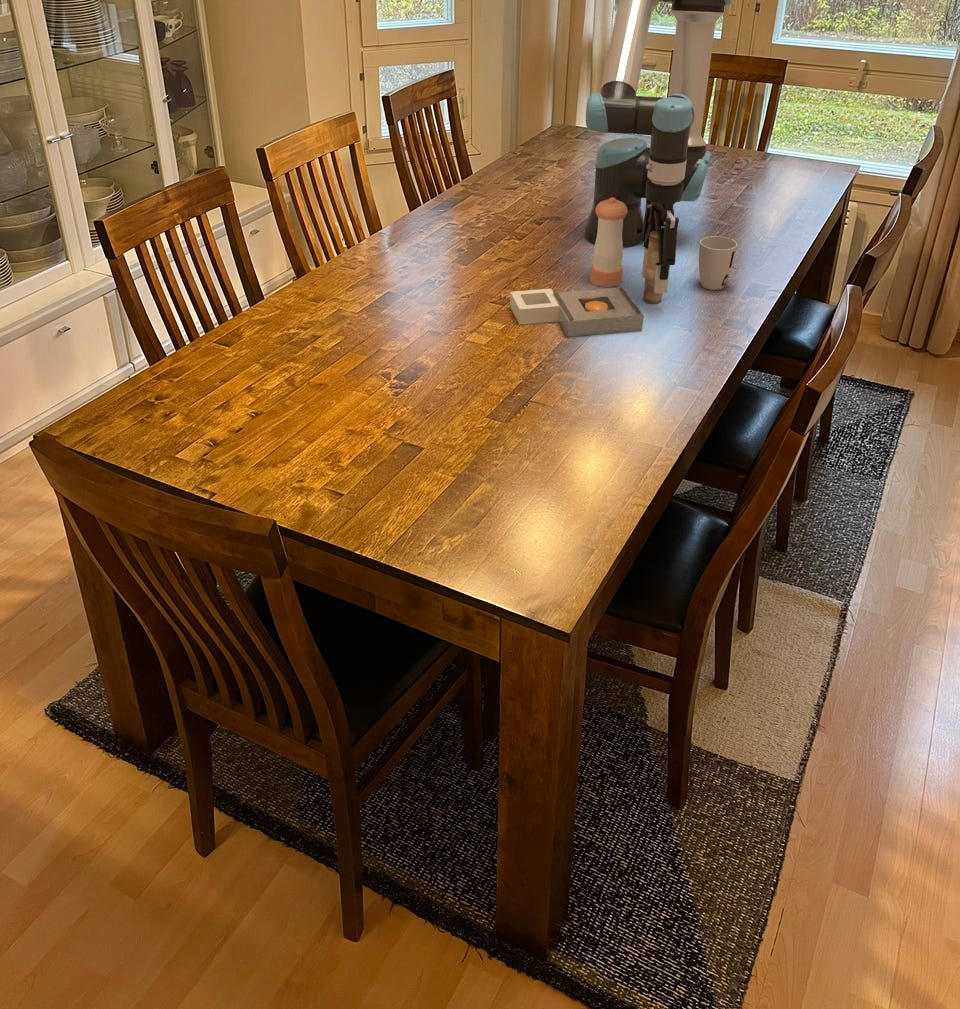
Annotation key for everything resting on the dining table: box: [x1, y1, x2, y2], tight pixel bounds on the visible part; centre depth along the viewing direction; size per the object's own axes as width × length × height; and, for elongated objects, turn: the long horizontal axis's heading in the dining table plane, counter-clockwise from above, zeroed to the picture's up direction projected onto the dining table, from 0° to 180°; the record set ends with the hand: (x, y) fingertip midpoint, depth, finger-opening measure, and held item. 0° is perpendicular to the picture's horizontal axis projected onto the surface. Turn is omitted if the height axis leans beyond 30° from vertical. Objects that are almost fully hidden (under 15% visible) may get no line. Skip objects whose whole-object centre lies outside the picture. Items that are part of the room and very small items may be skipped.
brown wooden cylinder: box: [642, 231, 663, 305], centre depth 215 cm, size 4×4×15 cm
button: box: [585, 301, 608, 312], centre depth 210 cm, size 5×5×1 cm
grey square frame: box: [553, 287, 645, 338], centre depth 211 cm, size 14×16×4 cm
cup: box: [698, 235, 738, 291], centre depth 223 cm, size 8×8×10 cm
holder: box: [509, 288, 560, 326], centre depth 213 cm, size 9×9×4 cm
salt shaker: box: [589, 198, 628, 288], centre depth 222 cm, size 7×7×19 cm
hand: (653, 284), depth 217 cm, fingers open, 8 cm apart
